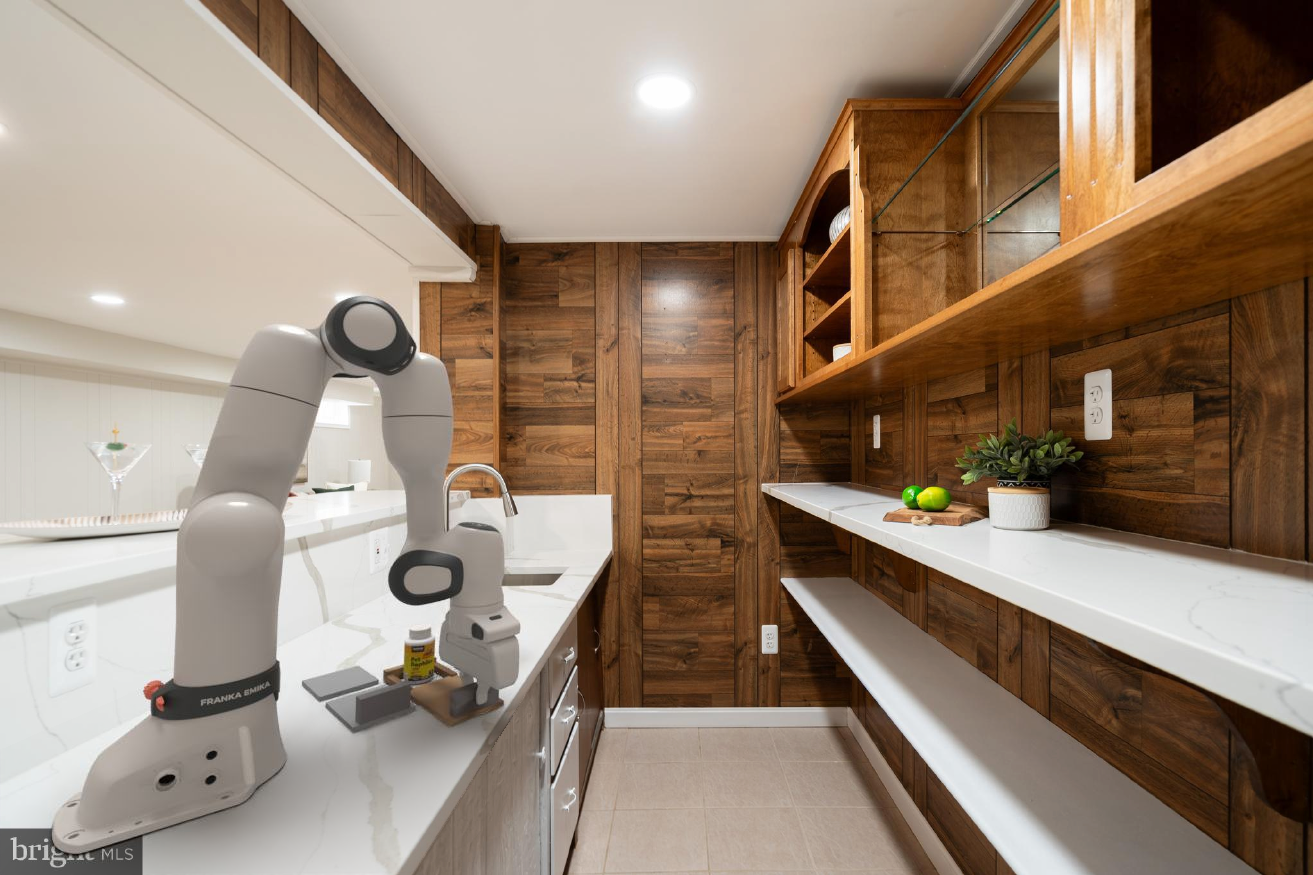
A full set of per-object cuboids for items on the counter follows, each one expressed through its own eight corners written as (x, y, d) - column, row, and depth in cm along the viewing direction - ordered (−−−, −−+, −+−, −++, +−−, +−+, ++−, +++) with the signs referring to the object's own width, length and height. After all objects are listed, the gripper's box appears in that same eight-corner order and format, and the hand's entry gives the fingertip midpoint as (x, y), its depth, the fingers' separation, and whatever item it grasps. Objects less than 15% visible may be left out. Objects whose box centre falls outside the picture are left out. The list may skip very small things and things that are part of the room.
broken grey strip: (353, 732, 83) (353, 701, 83) (301, 684, 101) (302, 659, 101) (416, 710, 91) (416, 682, 91) (358, 669, 108) (359, 645, 108)
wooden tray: (449, 726, 85) (450, 696, 85) (383, 680, 102) (383, 655, 103) (503, 705, 93) (504, 677, 93) (433, 665, 110) (433, 642, 110)
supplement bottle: (406, 688, 100) (407, 633, 100) (400, 678, 104) (402, 625, 105) (437, 680, 103) (438, 628, 103) (430, 671, 107) (431, 621, 108)
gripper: (430, 609, 95) (428, 687, 94) (492, 635, 81) (490, 726, 81) (463, 602, 99) (461, 676, 99) (526, 625, 86) (525, 711, 85)
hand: (474, 699), depth 90 cm, fingers closed on wooden tray, 2 cm apart
